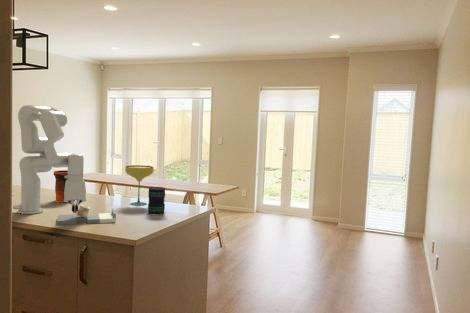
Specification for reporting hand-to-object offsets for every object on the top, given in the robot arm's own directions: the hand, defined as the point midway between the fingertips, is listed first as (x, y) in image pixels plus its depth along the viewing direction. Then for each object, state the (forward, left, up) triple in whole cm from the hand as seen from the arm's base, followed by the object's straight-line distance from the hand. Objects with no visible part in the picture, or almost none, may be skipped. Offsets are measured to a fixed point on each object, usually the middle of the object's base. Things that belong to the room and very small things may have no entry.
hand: (74, 212), depth 197 cm
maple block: (+3, 0, -2) cm, 4 cm away
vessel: (-6, +60, -5) cm, 61 cm away
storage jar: (+45, +12, -5) cm, 47 cm away
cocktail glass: (+39, +41, -5) cm, 57 cm away
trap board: (+6, 0, -4) cm, 7 cm away
